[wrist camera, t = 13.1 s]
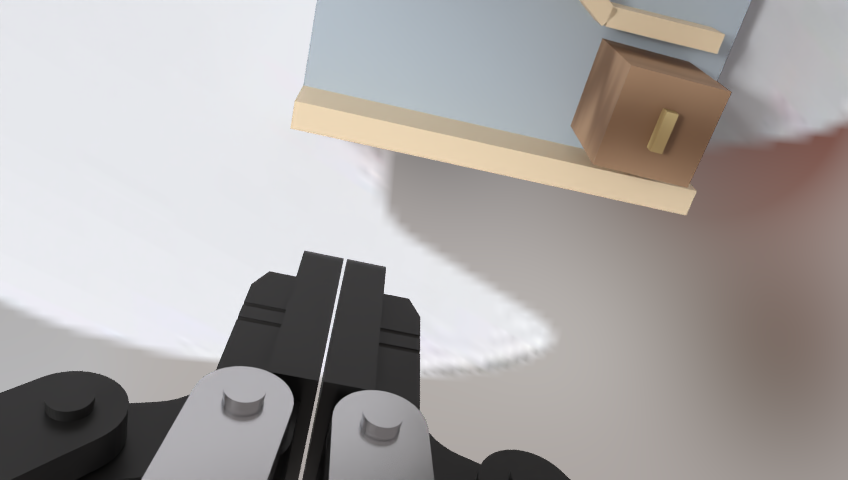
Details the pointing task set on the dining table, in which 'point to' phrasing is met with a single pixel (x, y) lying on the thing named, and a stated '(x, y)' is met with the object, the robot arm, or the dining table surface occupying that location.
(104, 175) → the dining table surface
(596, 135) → the walnut box
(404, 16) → the board
